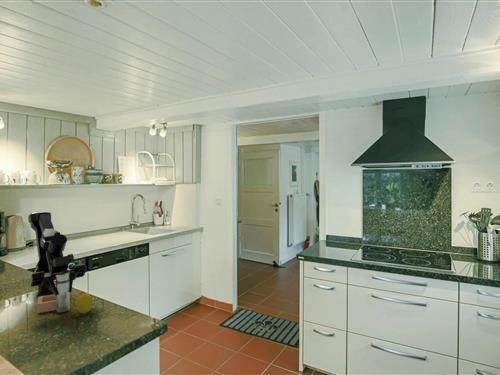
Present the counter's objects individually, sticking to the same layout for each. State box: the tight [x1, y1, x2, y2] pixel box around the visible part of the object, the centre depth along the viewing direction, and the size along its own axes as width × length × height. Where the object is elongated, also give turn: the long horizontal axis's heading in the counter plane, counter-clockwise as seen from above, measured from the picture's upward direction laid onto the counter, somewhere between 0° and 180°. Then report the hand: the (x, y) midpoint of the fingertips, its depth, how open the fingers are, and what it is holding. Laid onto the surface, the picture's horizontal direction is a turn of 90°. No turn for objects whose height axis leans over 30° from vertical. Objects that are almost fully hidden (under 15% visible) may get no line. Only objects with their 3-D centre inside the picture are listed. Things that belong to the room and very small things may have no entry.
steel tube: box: [55, 273, 70, 313], centre depth 119 cm, size 5×5×14 cm
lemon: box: [75, 292, 94, 315], centre depth 116 cm, size 6×6×8 cm
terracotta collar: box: [36, 294, 56, 314], centre depth 124 cm, size 9×9×4 cm
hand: (63, 293), depth 118 cm, fingers closed on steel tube, 4 cm apart
